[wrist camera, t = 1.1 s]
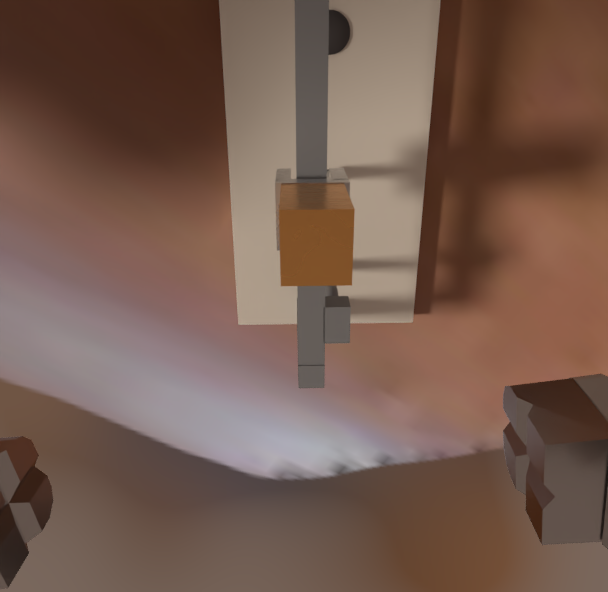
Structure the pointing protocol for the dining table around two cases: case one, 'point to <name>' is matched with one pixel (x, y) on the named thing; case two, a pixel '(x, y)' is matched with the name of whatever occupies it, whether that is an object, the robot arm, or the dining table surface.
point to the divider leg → (314, 229)
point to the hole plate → (329, 152)
